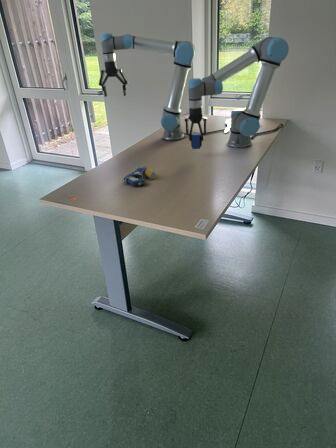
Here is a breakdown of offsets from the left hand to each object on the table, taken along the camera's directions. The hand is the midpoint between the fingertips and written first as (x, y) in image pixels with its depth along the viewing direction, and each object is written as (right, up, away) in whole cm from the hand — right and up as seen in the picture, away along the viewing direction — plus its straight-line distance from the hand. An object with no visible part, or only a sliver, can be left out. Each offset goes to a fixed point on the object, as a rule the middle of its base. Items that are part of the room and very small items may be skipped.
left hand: (115, 96), depth 224 cm
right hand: (+53, -37, -17) cm, 67 cm away
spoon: (+84, -9, +38) cm, 93 cm away
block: (+53, -38, -16) cm, 68 cm away
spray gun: (+20, -61, -37) cm, 74 cm away
